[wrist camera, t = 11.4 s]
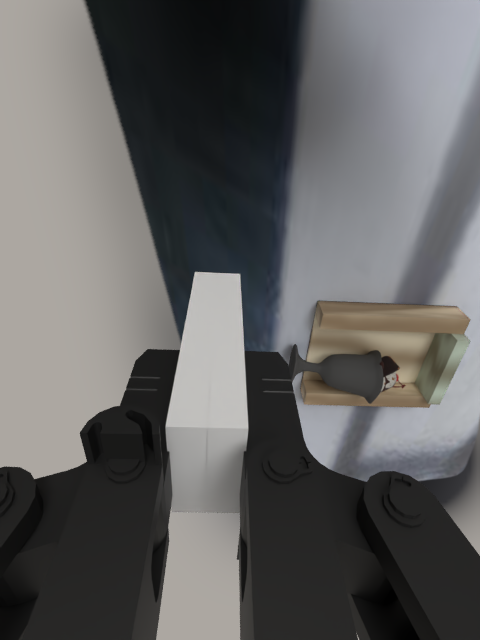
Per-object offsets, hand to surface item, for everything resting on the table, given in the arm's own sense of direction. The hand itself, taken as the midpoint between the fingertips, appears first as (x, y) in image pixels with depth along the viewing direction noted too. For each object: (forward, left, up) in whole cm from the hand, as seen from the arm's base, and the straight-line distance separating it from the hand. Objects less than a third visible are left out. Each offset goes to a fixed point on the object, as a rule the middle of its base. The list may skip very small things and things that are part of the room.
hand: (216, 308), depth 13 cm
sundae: (+22, +9, -24) cm, 34 cm away
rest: (+21, +20, -26) cm, 39 cm away
